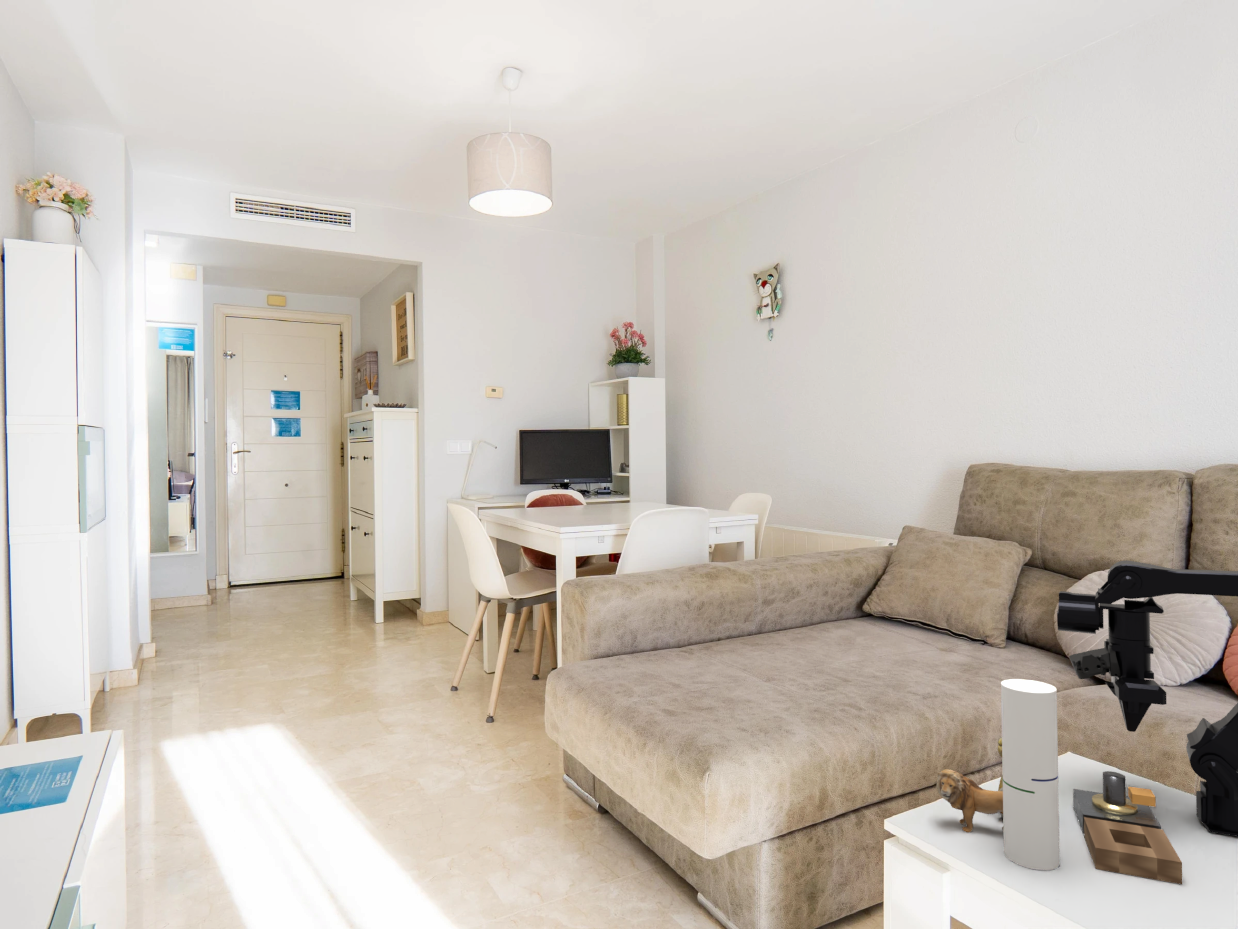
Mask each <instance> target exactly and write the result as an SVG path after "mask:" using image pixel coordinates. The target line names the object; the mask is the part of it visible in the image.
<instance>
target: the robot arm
mask: <svg viewBox="0 0 1238 929" xmlns="http://www.w3.org/2000/svg"><path fill="white" fill-rule="evenodd" d="M1106 579H1107V581H1105V583H1104V584H1103V585H1101V587H1100V588H1099V587H1098V588H1097V591H1096V592H1095V594H1091V593H1078V592H1077V593H1076V592H1071V591H1065V590H1064V591H1063V590H1062V591H1061V590H1060V591H1059V592H1058V608H1057V612H1056V617H1057V618H1056V621H1057V622H1056V625H1057V630H1058V631H1061V632H1070V633H1071V632H1072V633H1079V634H1081V633H1083V634H1092V635H1097V634H1096V633H1097V631H1100V629H1102V630H1103V629H1104V626H1105V625H1104V610H1107V618H1108V620H1107V621H1108V622H1107V625H1108V627H1107V628H1108V638H1106V639H1105V640H1103V642H1104V644H1103V645H1104V646H1103V647H1102V648H1096V649H1091V650H1086V651H1083V652H1078V653H1075V654H1071V655H1069V656H1068V658H1069V661H1070V662H1071V665H1072V667H1073V670H1074V673H1075V675H1077V678H1078V679H1079V680H1085V679H1086V680H1087V679H1089V678H1090V677H1095V676H1097V675H1101V676H1105V677H1106V674H1107V673H1108V674H1109V676H1110V678H1111V681H1105V682H1104V683H1105V684H1106V686H1107V688H1109V690H1110V692H1111V693H1112V694H1113V695H1114V696H1115V697H1116V698H1117V699H1118V704H1119V706H1120V709H1121V710H1120V711H1121V714H1122V717H1123V721H1124V724H1125V729H1126V730H1127V731H1128V732H1133V733H1135V732H1136V731H1137V729H1138V728H1139V726H1140V724H1141V722H1142V720H1143V718H1144V717H1145V715H1146V713H1147V712H1148V711H1149V709H1150V707H1151V706H1152V705H1161V706H1164V705H1167V691H1166V690H1165V689H1164V688H1163V687H1162V686H1161V685H1160V684H1159V683H1157V682H1156V681H1155V680H1154V679H1155V673H1154V672H1153V670H1151V668H1152V666H1151V655H1154V654H1155V653H1154V650H1155V649H1154V646H1152V645H1151V622H1150V621H1151V619H1150V617H1151V616H1150V613H1151V614H1162V615H1163V614H1164V612H1165V610H1164V608H1163V606H1161V605H1160V604H1159V603H1158V602H1156V600H1154V598H1155V597H1161V596H1166V595H1167V596H1168V595H1175V594H1179V595H1180V594H1182V595H1200V596H1202V595H1203V596H1220V597H1221V596H1223V597H1238V570H1213V569H1212V570H1211V569H1184V568H1183V569H1181V568H1180V569H1178V568H1170V567H1165V566H1160V565H1156V564H1152V563H1146V562H1145V563H1144V562H1140V561H1135V560H1127V559H1126V560H1120V561H1117V562H1115V563H1113V564H1112V565H1111V566H1110V568H1109V569H1108V571H1107V578H1106ZM1145 598H1146V599H1145ZM1121 599H1124V600H1123V603H1121V604H1120V603H1119V604H1118V603H1115V602H1118V601H1119V600H1121ZM1136 599H1145V600H1136ZM1186 738H1187V742H1186V746H1185V747H1186V748H1185V749H1186V753H1187V756H1188V761H1189V764H1190V767H1191V769H1192V771H1193V772H1194V774H1196V775H1197V776H1198V777H1199V778H1201V779H1203V780H1200V781H1199V783H1200V784H1199V787H1200V788H1199V790H1196V791H1195V793H1196V794H1195V799H1196V800H1195V801H1196V802H1195V804H1196V817H1197V818H1198V820H1200V822H1201V824H1203V826H1204V827H1205V828H1206V830H1207V831H1208V832H1210V833H1212V834H1213V833H1214V834H1220V835H1225V836H1226V835H1227V836H1232V837H1233V836H1234V837H1238V702H1237V703H1236V704H1235V705H1234V706H1233V707H1232V708H1231V709H1230V710H1229V712H1227V714H1225V716H1223V718H1221V719H1219V720H1217V721H1215V722H1213V723H1211V722H1209V721H1208V720H1207V719H1206V718H1205V717H1202V718H1201V719H1200V720H1199V722H1198V724H1197V726H1196V727H1195V729H1194V730H1193V731H1191V732H1188V733H1187V734H1186Z"/></svg>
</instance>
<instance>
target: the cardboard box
mask: <svg viewBox="0 0 1238 929" xmlns="http://www.w3.org/2000/svg"><path fill="white" fill-rule="evenodd" d="M1127 789H1128V790H1127V793H1128V796H1127V797H1129V798H1130V800H1131V802H1132V803H1133V804H1139V805H1146V806H1149V807H1154V808H1156V807H1157V805H1156V803H1157V802H1156V799H1157V798H1156V796H1155V794H1154V792H1153V791H1152V789H1149V788H1142V787H1136V786H1134V787H1133V786H1127Z"/></svg>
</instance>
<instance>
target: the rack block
mask: <svg viewBox="0 0 1238 929" xmlns="http://www.w3.org/2000/svg"><path fill="white" fill-rule="evenodd" d="M1083 836H1084V840H1085V842H1086V846H1087V848H1088V851H1089V854H1090V857H1091V860H1092V862H1093V864H1094V868H1095V870H1101V871H1106V872H1111V873H1112V872H1113V873H1117V874H1121V875H1122V874H1123V875H1129V876H1134V877H1139V878H1144V879H1150V880H1156V881H1162V882H1168V883H1170V884H1171V883H1172V884H1177V885H1183V862H1182V859H1181V858H1180V856H1179V855H1178V853H1177V852H1176V850H1175V847H1174V846H1173V845H1172V842H1171V841H1170V839H1169V838H1168V835H1167V834H1166V833H1165V830H1164V829H1162V828H1161V829H1156V828H1150V827H1144V826H1137V825H1131V824H1125V823H1118V822H1112V821H1106V820H1099V819H1093V818H1087V817H1084V834H1083Z"/></svg>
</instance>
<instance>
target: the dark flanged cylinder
mask: <svg viewBox="0 0 1238 929" xmlns="http://www.w3.org/2000/svg"><path fill="white" fill-rule="evenodd" d="M1126 786H1127V785H1126V776H1125V775H1124V774H1122V773H1120V772H1116V771H1112V770H1111V771H1110V770H1108V771H1103V772H1102V791H1103V792H1102V793H1103V794H1096V795H1093V796H1092V803H1093V805H1094V806H1096V807H1097V808H1099V809H1101V810H1103V811H1106V812H1109V813H1113V814H1119V815H1134V814H1136V813H1137V812H1138V806H1137V804H1133V803H1132V802H1131V800H1129V799H1127V798H1126V797H1127V794H1126V791H1127V790H1126V788H1127V787H1126Z"/></svg>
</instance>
